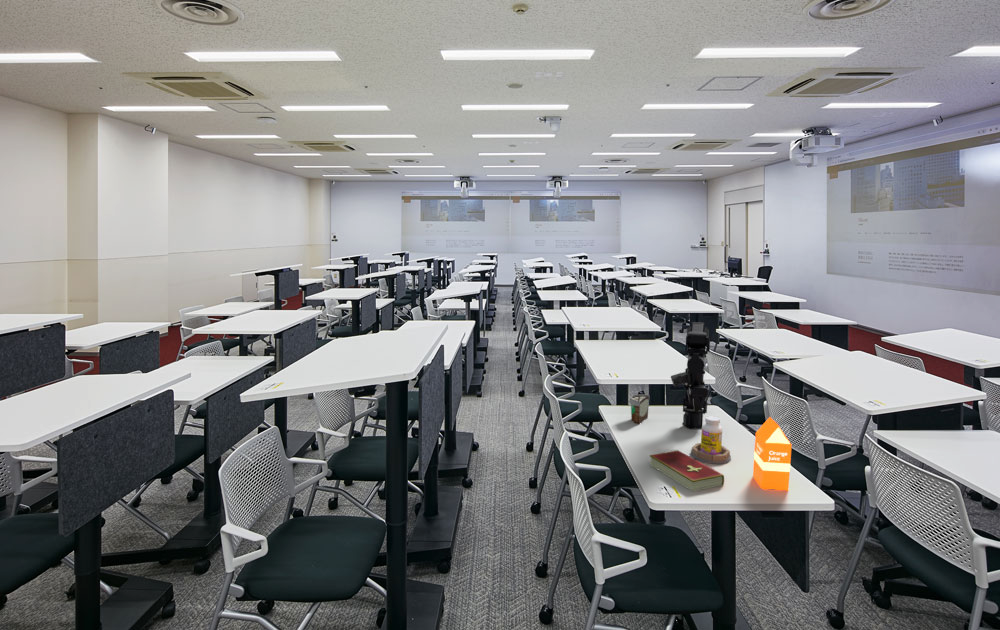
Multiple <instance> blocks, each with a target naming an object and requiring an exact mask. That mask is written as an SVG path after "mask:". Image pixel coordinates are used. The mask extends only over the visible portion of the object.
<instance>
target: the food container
mask: <svg viewBox="0 0 1000 630" xmlns="http://www.w3.org/2000/svg"><path fill="white" fill-rule="evenodd" d="M650 398H651V397H650V394H643V393H640V394H633V395H631V396H630V398H629V404H630V410H631V411H630V413H631V422H632V421H633V422H632V423H634V424H636V423H637V424H636V425H641V424H642V423H643V422H645V421H646V420H647V419H648V417H649V407H650V405H649V404H650ZM644 420H645V421H644ZM640 423H641V424H640Z"/></svg>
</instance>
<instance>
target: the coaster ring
mask: <svg viewBox="0 0 1000 630" xmlns="http://www.w3.org/2000/svg"><path fill="white" fill-rule="evenodd" d="M730 453H731V451H730V450H729V449H728V448H726V447H725V446H724V445H721V454H718V455H711V454H707V453H703V452H701V442H700V443H699V442H698V443H695V444H694V445H693V446H692V447H691V450H690V457H691V458H693V459H695V460H697V461H699V462H701V463H705V464H713V465H723V464H727V463H729V462H731V460H732V457H731V454H730Z"/></svg>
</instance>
